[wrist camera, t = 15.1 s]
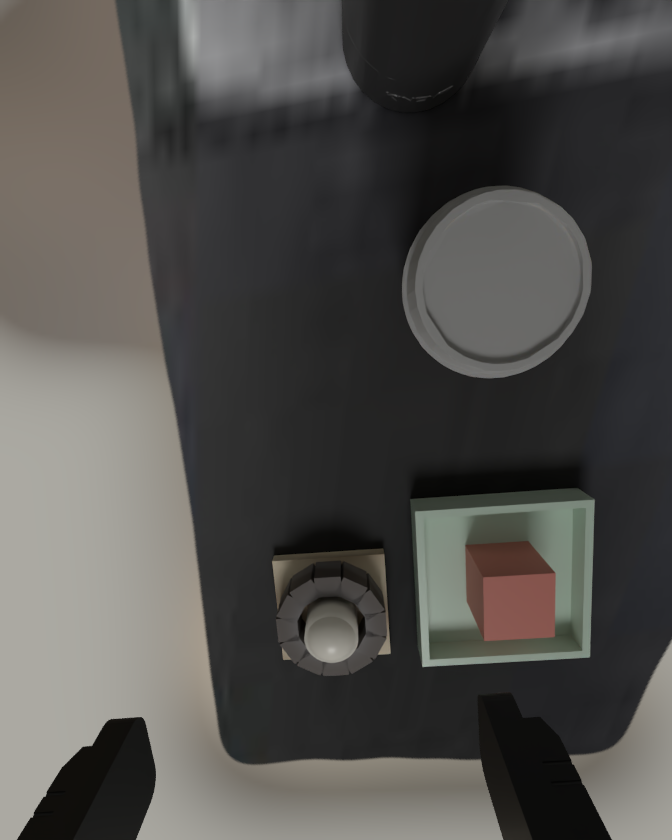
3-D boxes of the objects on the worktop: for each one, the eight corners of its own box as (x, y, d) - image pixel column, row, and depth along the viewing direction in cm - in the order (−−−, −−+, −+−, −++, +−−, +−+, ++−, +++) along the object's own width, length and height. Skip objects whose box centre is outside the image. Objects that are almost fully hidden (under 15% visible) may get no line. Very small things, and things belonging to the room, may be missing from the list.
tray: (410, 499, 38) (415, 511, 35) (577, 487, 37) (594, 499, 35) (417, 645, 40) (422, 666, 38) (574, 636, 40) (589, 657, 38)
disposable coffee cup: (541, 279, 34) (643, 255, 23) (461, 387, 36) (518, 416, 24) (435, 201, 34) (485, 134, 22) (359, 315, 35) (366, 310, 23)
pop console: (274, 555, 39) (267, 577, 36) (383, 548, 39) (386, 570, 35) (284, 651, 41) (279, 681, 37) (389, 645, 41) (393, 675, 37)
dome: (305, 593, 38) (300, 626, 34) (355, 590, 38) (356, 623, 33) (309, 638, 38) (305, 675, 34) (358, 635, 38) (360, 672, 34)
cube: (465, 544, 38) (483, 577, 33) (528, 540, 38) (555, 572, 33) (466, 601, 39) (484, 641, 34) (528, 597, 39) (554, 637, 34)
